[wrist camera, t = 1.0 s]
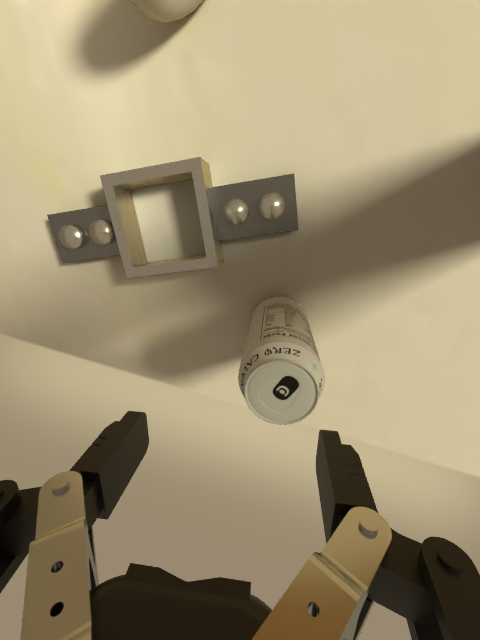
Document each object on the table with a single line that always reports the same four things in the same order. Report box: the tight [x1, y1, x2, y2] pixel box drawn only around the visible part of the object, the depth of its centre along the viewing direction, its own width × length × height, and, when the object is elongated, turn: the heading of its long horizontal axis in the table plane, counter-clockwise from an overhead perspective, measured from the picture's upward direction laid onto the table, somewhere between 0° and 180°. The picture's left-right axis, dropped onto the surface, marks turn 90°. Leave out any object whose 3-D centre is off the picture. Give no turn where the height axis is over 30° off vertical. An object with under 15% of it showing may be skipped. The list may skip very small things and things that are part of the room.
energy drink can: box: [238, 296, 324, 425], centre depth 26 cm, size 6×6×15 cm
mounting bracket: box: [47, 157, 298, 278], centre depth 29 cm, size 26×10×4 cm, turn 98°
